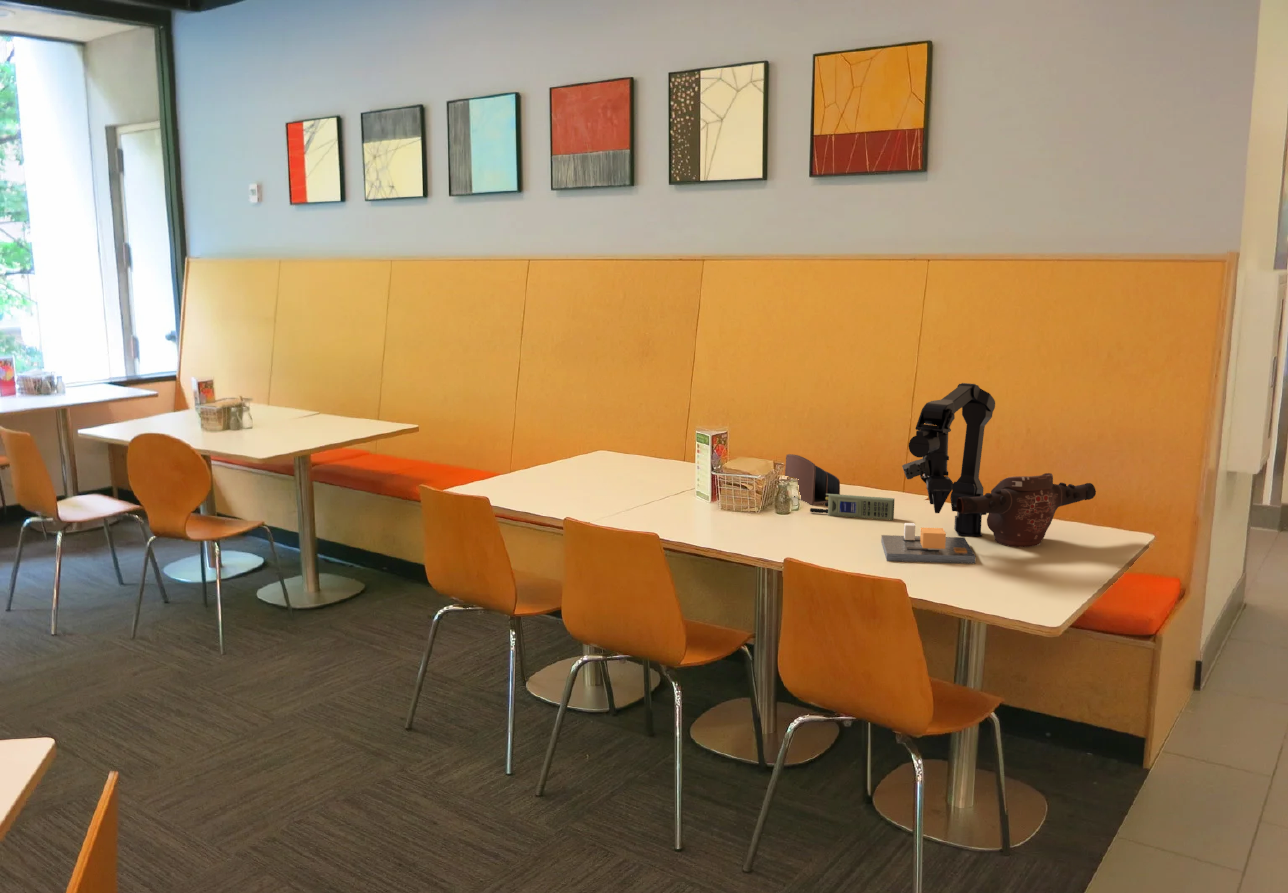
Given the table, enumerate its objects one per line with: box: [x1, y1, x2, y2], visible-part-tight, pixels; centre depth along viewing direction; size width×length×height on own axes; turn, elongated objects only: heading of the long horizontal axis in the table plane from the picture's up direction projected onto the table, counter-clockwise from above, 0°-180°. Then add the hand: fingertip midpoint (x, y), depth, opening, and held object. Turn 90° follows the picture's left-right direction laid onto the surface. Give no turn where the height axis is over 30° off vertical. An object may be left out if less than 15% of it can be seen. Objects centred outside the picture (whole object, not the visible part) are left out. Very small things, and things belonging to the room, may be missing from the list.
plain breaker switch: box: [903, 522, 916, 540], centre depth 282 cm, size 3×3×4 cm
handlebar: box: [956, 472, 1097, 548], centre depth 283 cm, size 45×13×20 cm, turn 111°
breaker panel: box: [880, 534, 976, 565], centre depth 277 cm, size 22×18×2 cm
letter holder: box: [784, 453, 841, 506], centre depth 340 cm, size 10×20×14 cm, turn 20°
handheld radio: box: [809, 494, 895, 521], centre depth 316 cm, size 7×3×25 cm
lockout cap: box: [919, 527, 947, 549], centre depth 273 cm, size 6×6×4 cm
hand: (934, 508), depth 278 cm, fingers open, 9 cm apart
